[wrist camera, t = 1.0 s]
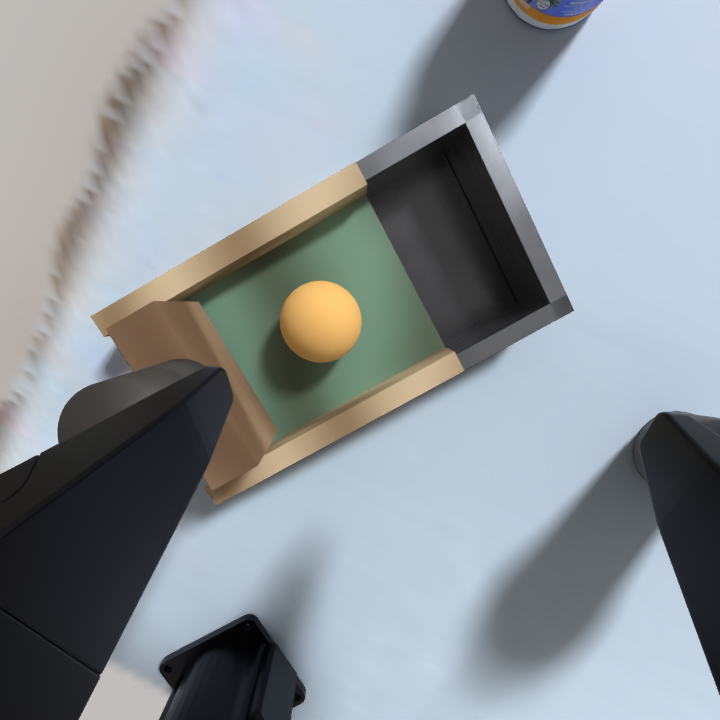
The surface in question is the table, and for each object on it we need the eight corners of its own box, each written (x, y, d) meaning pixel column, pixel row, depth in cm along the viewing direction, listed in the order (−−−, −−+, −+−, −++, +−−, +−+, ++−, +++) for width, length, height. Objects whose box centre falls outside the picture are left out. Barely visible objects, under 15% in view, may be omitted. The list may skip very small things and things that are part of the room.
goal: (444, 359, 20) (463, 370, 17) (354, 188, 19) (355, 162, 16) (535, 309, 20) (574, 310, 17) (451, 132, 19) (474, 93, 15)
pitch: (238, 471, 21) (216, 505, 18) (137, 314, 20) (90, 316, 16) (444, 359, 20) (464, 370, 17) (354, 188, 19) (355, 161, 16)
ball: (310, 369, 18) (301, 384, 15) (273, 305, 18) (254, 306, 14) (373, 334, 18) (379, 341, 15) (337, 269, 18) (334, 260, 14)
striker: (233, 455, 18) (144, 570, 10) (152, 328, 17) (-16, 349, 9) (287, 425, 18) (238, 519, 10) (208, 296, 17) (85, 289, 9)
